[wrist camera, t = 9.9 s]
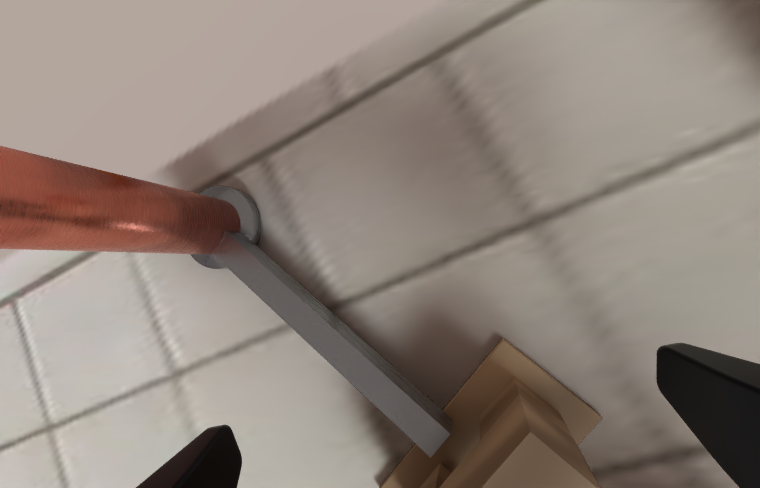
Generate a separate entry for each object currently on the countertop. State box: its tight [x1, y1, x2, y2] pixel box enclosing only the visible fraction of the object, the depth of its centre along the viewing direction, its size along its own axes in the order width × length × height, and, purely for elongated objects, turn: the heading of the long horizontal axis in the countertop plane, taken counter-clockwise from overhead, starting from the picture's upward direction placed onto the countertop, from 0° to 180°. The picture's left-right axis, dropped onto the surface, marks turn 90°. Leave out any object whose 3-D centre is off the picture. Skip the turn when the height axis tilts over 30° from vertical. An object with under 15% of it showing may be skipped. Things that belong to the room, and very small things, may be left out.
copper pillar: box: [0, 146, 453, 458], centre depth 12 cm, size 19×5×15 cm, turn 53°
